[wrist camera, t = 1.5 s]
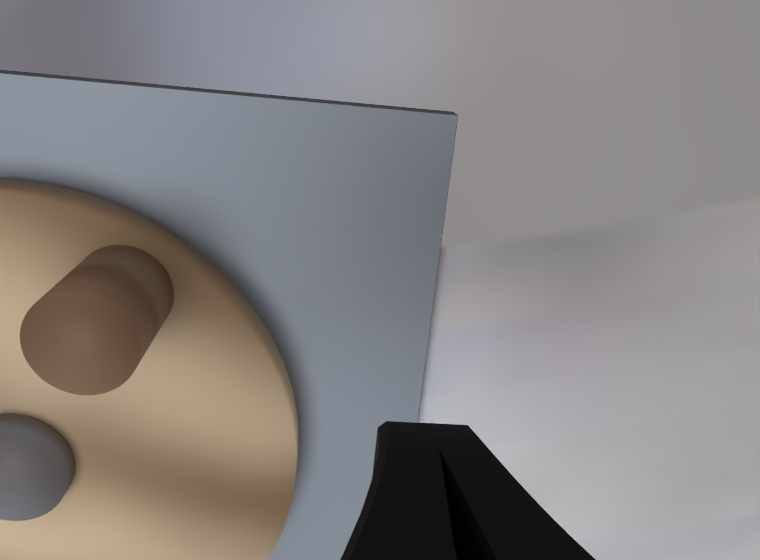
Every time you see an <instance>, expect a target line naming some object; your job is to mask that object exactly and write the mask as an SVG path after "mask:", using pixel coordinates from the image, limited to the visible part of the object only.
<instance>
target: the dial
mask: <svg viewBox="0 0 760 560" xmlns="http://www.w3.org/2000/svg"><path fill="white" fill-rule="evenodd" d="M298 449H299V443H298V416H297V410H296V404H295V398H294V392H293V389H292V385H291V382H290V379H289V376H288V373H287V370H286V367H285V364H284V361H283V359H282V357H281V355H280V353H279V351H278V349H277V347H276V345H275V343H274V341H273V339H272V337H271V335H270V332H269V331H268V329H267V328H266V326H265V325H264V323H263V322H262V320H261V319H260V317H259V316H258V314H257V313H256V312H255V310H254V309H253V307H252V306H251V304H250V303H249V302H248V301H247V299H246V298H245V297H244V296H243V295H242V294H241V293H240V291H239V290H238V289H237V288H236V287H235V286H234V285H233V283H232V282H231V281H230V280H229V279H228V278H227V277H226V276H225V275H224V274H223V273H222V272H221V271H220V270H219V269H217V268H216V267H215V266H214V265H213V264H212V263H211V262H210V261H208V260H207V259H206V258H205V257H204V256H203V255H202V254H201V253H199V252H198V251H197V250H195V249H194V248H193V247H191V246H190V245H188V244H187V243H185V242H184V241H182V240H181V239H180V238H178V237H177V236H175V235H174V234H172V233H171V232H170V231H168V230H167V229H165V228H163V227H161V226H159V225H157V224H155V223H154V222H152V221H150V220H148V219H146V218H144V217H142V216H140V215H139V214H137V213H135V212H133V211H131V210H129V209H126V208H123V207H121V206H118V205H116V204H113V203H111V202H108V201H106V200H103V199H101V198H98V197H95V196H93V195H89V194H85V193H82V192H78V191H74V190H70V189H66V188H63V187H59V186H55V185H50V184H43V183H35V182H28V181H21V180H14V179H0V560H267V559H268V558H269V557H270V555H271V554H272V552H273V550H274V548H275V546H276V544H277V542H278V539H279V537H280V535H281V533H282V531H283V529H284V526H285V523H286V520H287V517H288V513H289V510H290V507H291V504H292V499H293V492H294V485H295V477H296V469H297V459H298Z"/></svg>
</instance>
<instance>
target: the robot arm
mask: <svg viewBox="0 0 760 560" xmlns="http://www.w3.org/2000/svg"><path fill="white" fill-rule="evenodd" d="M340 560H595V559H594V558H593V557H592V556H591V555H590V554H589V553H588V552H587V551H586V550H585V549H584V548H582V547H581V546H580V545H579V544H578V543H577V542H576V541H575V540H574V539H573V538H572V537H571V536H570V535H569V534H568V533H567V532H566V531H565V530H564V529H563V528H562V527H561V526H560V525H558V524H557V523H556V522H555V521H554V520H553V519H552V518H551V517H550V515H549V514H548V513H547V512H546V511H545V510H544V509H543V508H542V507H541V506H540V505H539V504H538V503H537V502H536V501H535V500H534V499H533V498H532V497H531V496H530V495H529V494H528V492H527V491H526V490H525V489H524V488H523V487H522V486H521V485H520V484H519V483H518V482H517V480H516V479H515V478H514V477H513V476H512V475H511V474H510V473H509V472H508V470H507V469H506V468H505V467H504V466H503V465H502V464H501V463H500V461H499V460H498V459H497V458H496V457H495V456H494V455H493V453H492V452H491V451H490V450H489V449H488V448H487V447H486V445H485V444H484V443H483V442H482V441H481V440H480V438H479V437H478V436H477V435H476V434H475V433H474V432H473V431H472V430H471V428H470V427H469V426H468V425H452V424H433V423H414V422H394V421H386V422H384V423H383V424H382V425H380V426H379V427H378V429H377V439H376V448H375V457H374V466H373V475H372V480H371V484H370V487H369V490H368V493H367V496H366V499H365V502H364V505H363V508H362V511H361V513H360V516H359V518H358V520H357V523H356V525H355V527H354V530H353V532H352V534H351V537H350V539H349V541H348V544H347V546H346V548H345V551H344V553H343V555H342V557H341V559H340Z"/></svg>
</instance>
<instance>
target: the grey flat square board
mask: <svg viewBox="0 0 760 560" xmlns="http://www.w3.org/2000/svg"><path fill="white" fill-rule="evenodd" d="M457 121H458V115H457V114H455V113H454V112H448V111H438V110H426V109H416V108H405V107H394V106H383V105H372V104H362V103H350V102H341V101H330V100H319V99H308V98H297V97H287V96H275V95H265V94H254V93H243V92H233V91H222V90H211V89H200V88H190V87H179V86H167V85H157V84H146V83H136V82H125V81H114V80H103V79H92V78H82V77H70V76H60V75H48V74H37V73H28V72H17V71H6V70H0V179H14V180H21V181H28V182H35V183H43V184H50V185H55V186H59V187H63V188H66V189H70V190H74V191H78V192H82V193H85V194H89V195H93V196H95V197H98V198H101V199H103V200H106V201H108V202H111V203H113V204H116V205H118V206H121V207H123V208H126V209H129V210H131V211H133V212H135V213H137V214H139V215H140V216H142V217H144V218H146V219H148V220H150V221H152V222H154V223H155V224H157V225H159V226H161V227H163V228H165V229H167V230H168V231H170V232H171V233H172V234H174V235H175V236H177V237H178V238H180V239H181V240H182V241H184V242H185V243H187V244H188V245H190V246H191V247H193V248H194V249H195V250H197V251H198V252H199V253H201V254H202V255H203V256H204V257H205V258H206V259H207V260H208V261H210V262H211V263H212V264H213V265H214V266H215V267H216V268H217V269H219V270H220V271H221V272H222V273H223V274H224V275H225V276H226V277H227V278H228V279H229V280H230V281H231V282H232V283H233V285H234V286H235V287H236V288H237V289H238V290H239V291H240V293H241V294H242V295H243V296H244V297H245V298H246V299H247V301H248V302H249V303H250V304H251V306H252V307H253V309H254V310H255V312H256V313H257V314H258V316H259V317H260V319H261V320H262V322H263V323H264V325H265V326H266V328H267V329H268V331H269V332H270V335H271V337H272V339H273V341H274V343H275V345H276V347H277V349H278V351H279V353H280V355H281V357H282V359H283V361H284V364H285V367H286V370H287V373H288V376H289V379H290V382H291V385H292V389H293V392H294V398H295V404H296V410H297V416H298V443H299V449H298V459H297V469H296V477H295V485H294V492H293V499H292V504H291V507H290V510H289V513H288V517H287V520H286V523H285V526H284V529H283V531H282V533H281V535H280V537H279V539H278V542H277V544H276V546H275V548H274V550H273V552H272V554H271V555H270V557H269V558H268V559H267V560H340V559H341V557H342V555H343V553H344V551H345V548H346V546H347V544H348V541H349V539H350V537H351V534H352V532H353V530H354V527H355V525H356V523H357V520H358V518H359V516H360V513H361V511H362V508H363V505H364V502H365V499H366V496H367V493H368V490H369V487H370V484H371V480H372V475H373V466H374V457H375V448H376V439H377V429H378V427H379V426H380V425H382V424H383V423H384V422H386V421H394V422H414V423H417V421H418V413H419V406H420V398H421V391H422V383H423V376H424V368H425V361H426V353H427V346H428V338H429V331H430V323H431V316H432V308H433V301H434V293H435V286H436V278H437V271H438V263H439V256H440V248H441V241H442V233H443V226H444V218H445V211H446V203H447V196H448V188H449V181H450V173H451V166H452V158H453V150H454V143H455V136H456V128H457Z"/></svg>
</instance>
